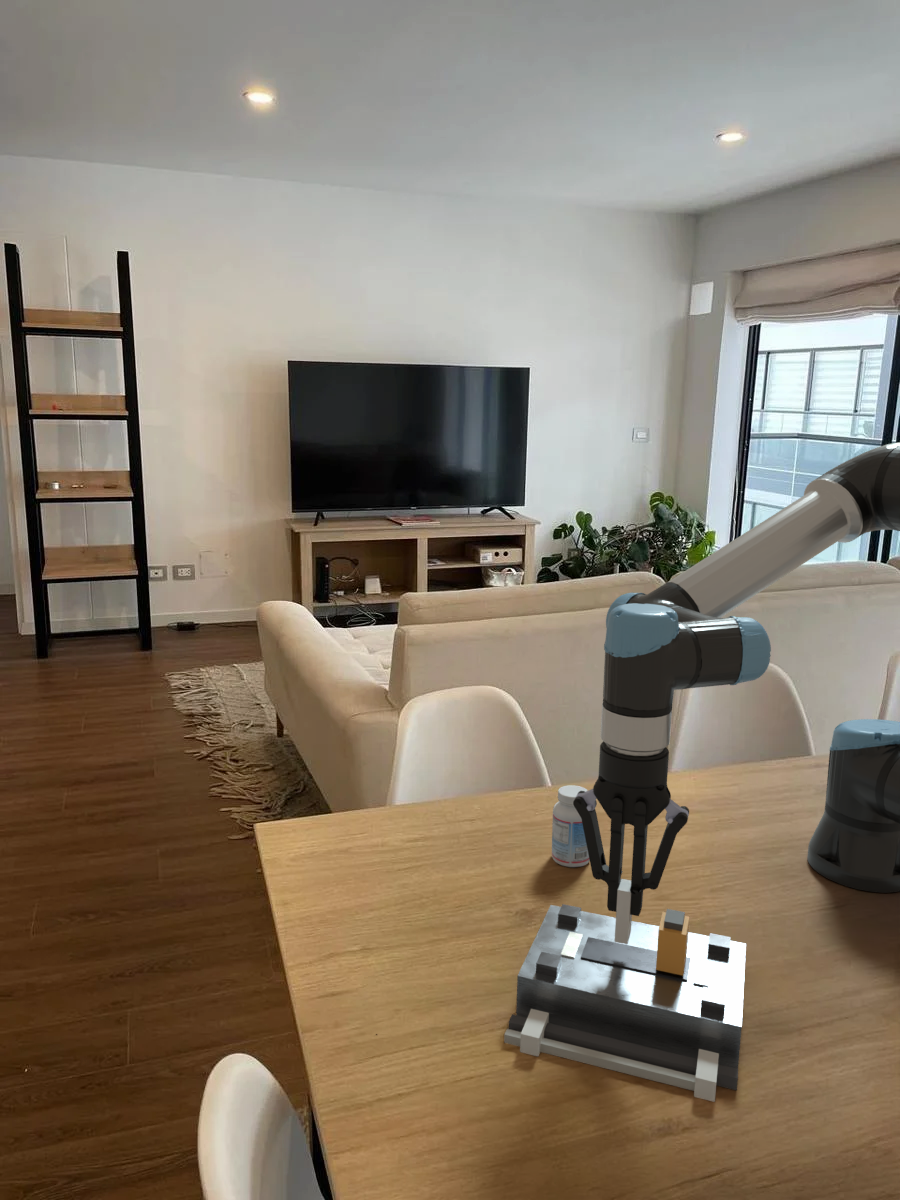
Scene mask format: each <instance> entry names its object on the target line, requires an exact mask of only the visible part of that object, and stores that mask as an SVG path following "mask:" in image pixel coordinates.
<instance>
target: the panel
mask: <svg viewBox="0 0 900 1200" xmlns="http://www.w3.org/2000/svg"><path fill="white" fill-rule="evenodd" d="M615 925H616V917H613V916H608V915H604V914H603V915H602V914H599V913H594V912H593V913H592V912H589V911H584V910H582V907H579V906H574V905H569V904H563V903H562V904H561V905H560V906H558V905H552V904H550V905H549V908H548V910H547V912H546V914H545V916H544V917H543V921H542V923H541V925H540V926H539V927H540V928H539V929H538V932H537V933H536V936H535V937H534V940H533V942H532V944H531V946H530V948H529V950H528V953H527V955H526V957H525V959H524V961H523V963H522V965H521V967H520V970H519V971H518V974H517V978H516V1005H515V1006H516V1008H515V1011H516V1012H515V1015H518V1016H522V1017H526V1018H528V1015H529V1013H530V1010H531V1009H535V1010H539V1011H543V1012H547V1013H549V1022H548V1023H551V1024H555V1025H559V1026H563V1027H567V1028H571V1029H575V1030H579V1031H584V1032H588V1033H592V1034H596V1035H600V1036H604V1037H608V1038H612V1039H616V1040H621V1041H625V1042H629V1043H633V1044H637V1045H641V1046H645V1047H649V1048H654V1049H658V1050H662V1051H666V1052H670V1053H674V1054H678V1055H682V1056H687V1057H691V1058H695V1059H698V1052H699V1049H702V1050H706V1051H711V1052H715V1053H719V1058H718V1064H719V1065H724V1066H728V1067H732V1068H736V1069H738V1070H739V1064H740V1063H739V1062H740V1052H741V1049H740V1048H741V1039H742V1026H743V1010H744V991H745V990H744V989H745V973H746V972H745V970H746V952H747V943H745V942H740V941H736V940H731V936H727V935H722V934H716V933H711V932H709V935H705V934H700V933H695V932H689V931H688V942H687V956H686V962H685V968H684V974H683V975H678V974H673V973H669V972H664V971H659V970H656V962H657V947H658V932H659V926H660V925H654V924H648V923H643V922H639V921H633V920H632V922H631V933H630V937H629V941H628V944H623V943H618V942H615Z"/></svg>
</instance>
